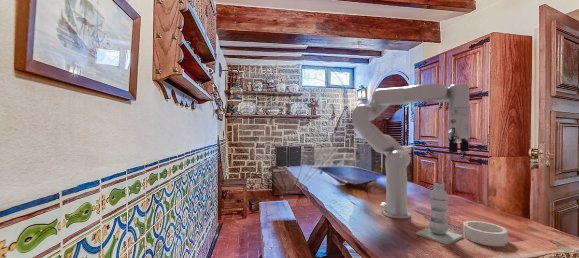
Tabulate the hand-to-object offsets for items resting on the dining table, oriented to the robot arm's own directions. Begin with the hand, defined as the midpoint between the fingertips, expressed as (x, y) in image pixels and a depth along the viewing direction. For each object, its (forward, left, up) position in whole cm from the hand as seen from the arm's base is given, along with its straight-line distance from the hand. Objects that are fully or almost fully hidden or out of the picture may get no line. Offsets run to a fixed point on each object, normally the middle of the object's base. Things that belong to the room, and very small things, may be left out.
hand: (458, 151), depth 116 cm
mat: (+1, -19, -32) cm, 37 cm away
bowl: (+12, -7, -32) cm, 35 cm away
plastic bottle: (+1, -18, -32) cm, 37 cm away
